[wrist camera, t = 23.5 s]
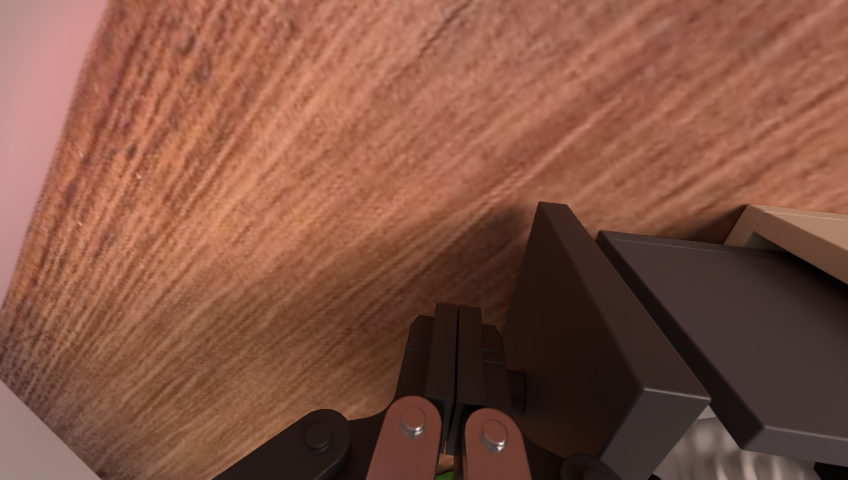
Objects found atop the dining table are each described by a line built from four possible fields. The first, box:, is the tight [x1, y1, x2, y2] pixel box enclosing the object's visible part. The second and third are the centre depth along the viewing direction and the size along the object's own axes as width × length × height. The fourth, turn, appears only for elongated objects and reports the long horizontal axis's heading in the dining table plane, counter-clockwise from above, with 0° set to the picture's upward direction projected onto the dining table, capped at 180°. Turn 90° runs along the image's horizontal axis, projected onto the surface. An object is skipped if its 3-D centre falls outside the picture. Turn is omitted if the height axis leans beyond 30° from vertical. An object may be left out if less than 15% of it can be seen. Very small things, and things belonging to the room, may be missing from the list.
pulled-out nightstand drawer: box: [502, 202, 848, 480], centre depth 12 cm, size 16×13×9 cm
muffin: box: [653, 405, 821, 480], centre depth 12 cm, size 6×6×7 cm
